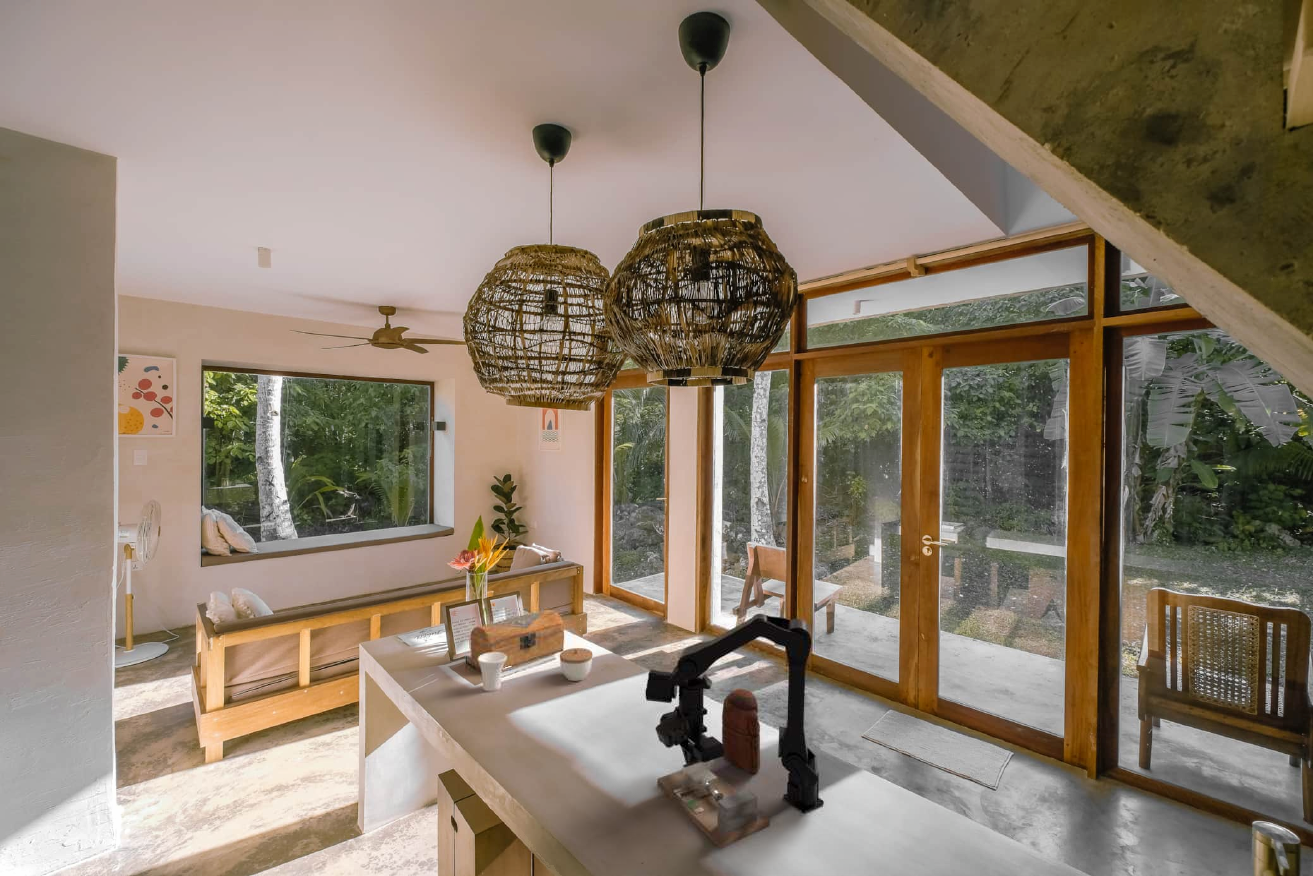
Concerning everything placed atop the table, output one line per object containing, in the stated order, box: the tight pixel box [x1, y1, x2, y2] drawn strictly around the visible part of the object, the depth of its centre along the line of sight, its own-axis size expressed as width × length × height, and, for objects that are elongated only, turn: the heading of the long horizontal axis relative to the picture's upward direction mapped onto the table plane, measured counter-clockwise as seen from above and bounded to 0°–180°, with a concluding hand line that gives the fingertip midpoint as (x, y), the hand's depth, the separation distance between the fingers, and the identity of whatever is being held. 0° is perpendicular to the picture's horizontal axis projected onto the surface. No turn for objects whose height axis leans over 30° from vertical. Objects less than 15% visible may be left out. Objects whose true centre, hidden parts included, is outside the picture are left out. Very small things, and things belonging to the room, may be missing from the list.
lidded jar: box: [559, 647, 593, 682], centre depth 197 cm, size 11×11×9 cm
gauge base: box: [656, 769, 771, 849], centre depth 131 cm, size 13×24×6 cm, turn 31°
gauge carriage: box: [680, 760, 723, 803], centre depth 131 cm, size 9×9×5 cm
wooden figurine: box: [721, 688, 761, 774], centre depth 147 cm, size 12×6×18 cm, turn 42°
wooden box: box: [470, 609, 565, 668], centre depth 214 cm, size 30×16×14 cm, turn 133°
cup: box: [478, 652, 507, 692], centre depth 189 cm, size 9×9×10 cm
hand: (690, 771), depth 138 cm, fingers closed
